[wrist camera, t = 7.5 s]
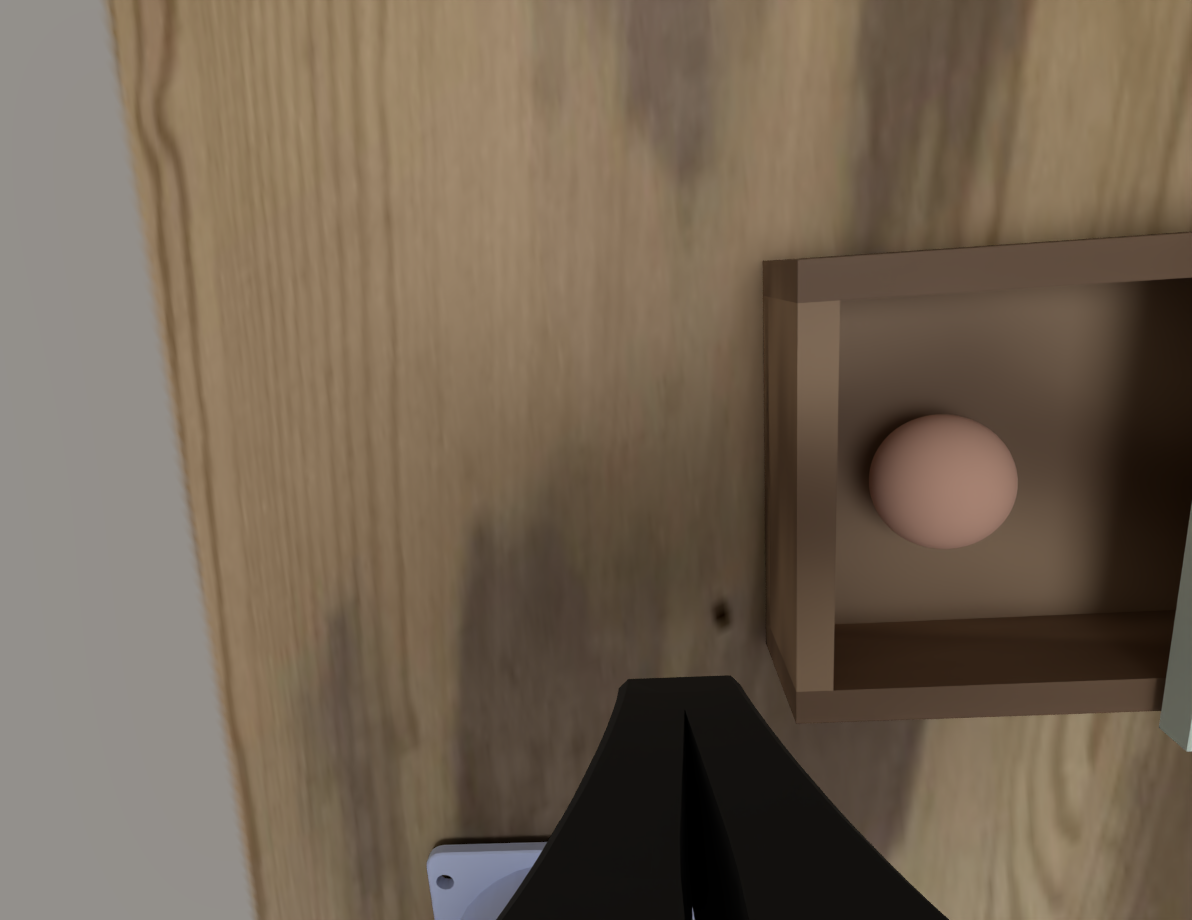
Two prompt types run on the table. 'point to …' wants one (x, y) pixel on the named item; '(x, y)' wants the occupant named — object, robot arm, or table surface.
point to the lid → (1180, 661)
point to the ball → (943, 481)
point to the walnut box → (1042, 458)
